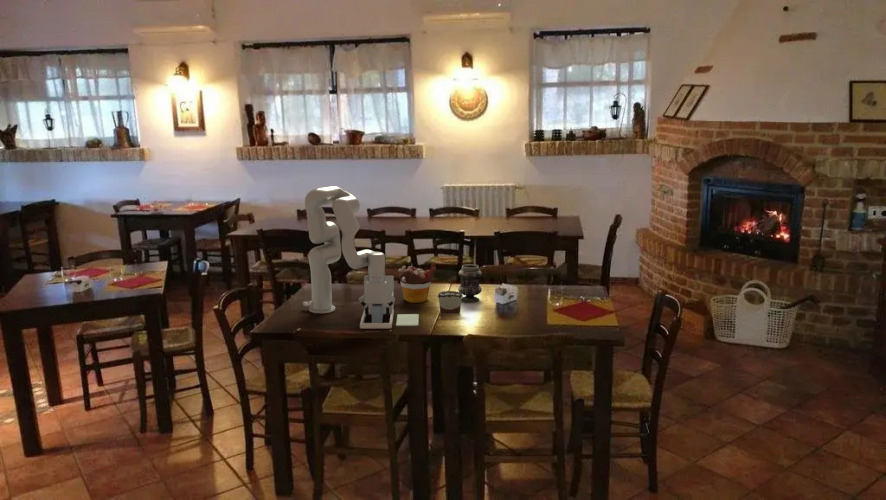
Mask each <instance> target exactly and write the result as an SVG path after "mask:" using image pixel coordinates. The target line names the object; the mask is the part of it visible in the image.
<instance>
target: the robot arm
mask: <svg viewBox="0 0 886 500" xmlns="http://www.w3.org/2000/svg"><path fill="white" fill-rule="evenodd" d="M328 205H331V209H332V211H333V213H334V216H335V219H336V221H337V224H338V226H339V227H338V226H337V224H336V222H333V221H330V220H328V221H327V219H326V217H327V216H326V213H325V210H324V209H323V206H328ZM304 207H305V212H306V216H307V217H306V218H307V229H308V237H309V240H310V241H311V243H312V244H318V245H319V244H322V243H324V244H322V245H319V246H314V247H313V248H311V249H310V251H309V252H308V254H307V255H308V256H307V258H308V264H309V267H310V268H309V270H310V282H311V283H310V284H311V300H310V301H303V302H302V306H304V307H309V308H308V312H310V313H311V314H312V313H313V314H329V313H332V312H334V311H336V306H335V305H334V304H333V299H332V298H333V296H332V292H333V291H332V274H331V270H330V268H329V264H333V263H336V262H338V261H339V260H340V259H341V256H342V255H343V257H344V259H345V262H346V263H347V265H348V266H349V267H350V268H351V269H353V270H356V269H357V270H358V269H361V268H365V267H367V268H368V275H366V276H367V277H365V279H367V280H368V282H367V285H366V294H365V295H364V294H363V295H362V296H360V297H359V298H358V302H360V304H361V305H362V306H363V308H364V307H365V314H366V317H368V316H370V314H369V307H368V305H369V304H385V305H386V306H387V307H386V314H385V316H386V317H388V316H389V315H390V314H389V307H390V306H391V305H392V304H393V303H395V301H396V299H397V298H396V297H395V296H394V297H393V296H391V295H390V294H388V287H387V282H386V281H385V276H386V259H385V258H386V255H385V254H384V253H383V252H381V251H374V250H371V249H368V248H367V249H361V250H359V251H357V250H356V247H355V242H354V240H355V236H356V234H357V233H358V231H359V230H360V223H359V221H358V219H357V217H356V215H355V214H356V213H357V212H358V211H360V209H361V208H360V207H361V205H360V201H359V200H358V198H357V197H356V196H355V195H353V194H352V193H350V192H348V191H347V190H344V189H342V188H341V187H339V186H336V185H330V186H323V187H317V188H314V189H312V190H310V191H309V192H307V193H306V195H305V198H304ZM339 229H340V230H341V234H342V236H341V235H340V230H339ZM364 298H366V303H365V302H364ZM388 298H390V299H392V301H391V302H390V303H388Z"/></svg>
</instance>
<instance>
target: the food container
mask: <svg viewBox="0 0 886 500" xmlns="http://www.w3.org/2000/svg"><path fill="white" fill-rule="evenodd" d="M463 297H464V295H463V294H462V293H460V292H459V291H454V290H446V291H441V292H438V293H437V299H438V303H439V314H440V315H461V307H462V301H461V300H462V298H463Z"/></svg>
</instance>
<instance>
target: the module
mask: <svg viewBox="0 0 886 500" xmlns="http://www.w3.org/2000/svg"><path fill="white" fill-rule="evenodd" d="M383 318H384V314H383V304H372V314H371V323H383V320H384V319H383Z"/></svg>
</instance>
